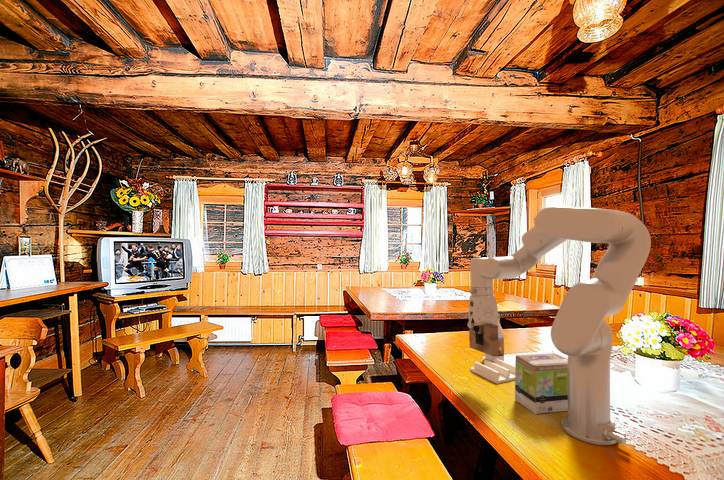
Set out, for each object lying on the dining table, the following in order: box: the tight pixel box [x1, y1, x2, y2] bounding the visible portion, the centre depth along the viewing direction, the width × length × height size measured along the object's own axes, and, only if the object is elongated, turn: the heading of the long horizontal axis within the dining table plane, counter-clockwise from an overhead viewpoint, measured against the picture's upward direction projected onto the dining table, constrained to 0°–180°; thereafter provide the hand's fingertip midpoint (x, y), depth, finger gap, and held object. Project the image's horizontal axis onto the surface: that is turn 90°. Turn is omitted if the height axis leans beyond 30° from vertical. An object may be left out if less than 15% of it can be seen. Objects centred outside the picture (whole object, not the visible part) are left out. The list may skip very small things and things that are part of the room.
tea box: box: [514, 352, 568, 415], centre depth 104 cm, size 15×10×15 cm
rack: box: [469, 358, 516, 385], centre depth 129 cm, size 14×14×4 cm
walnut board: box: [468, 323, 499, 356], centre depth 118 cm, size 11×3×10 cm, turn 23°
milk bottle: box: [484, 313, 505, 363], centre depth 144 cm, size 8×8×20 cm
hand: (483, 343), depth 118 cm, fingers closed on walnut board, 3 cm apart
